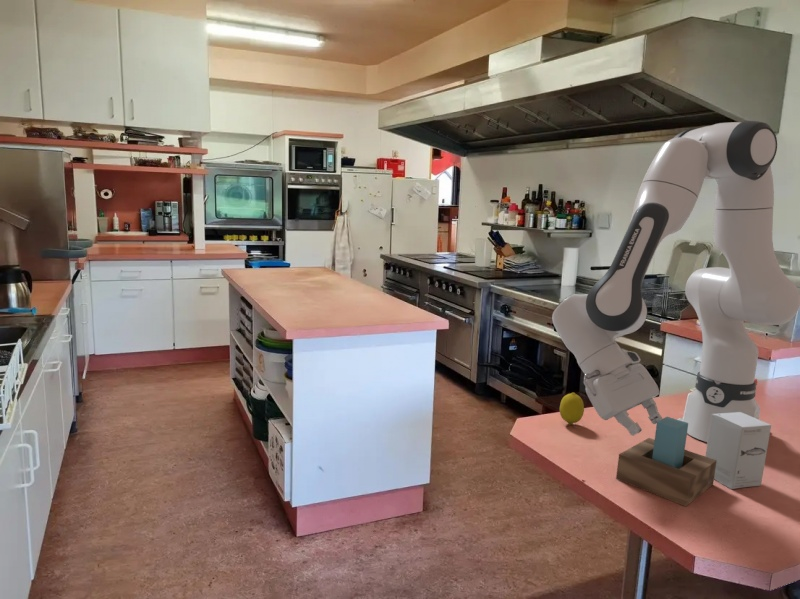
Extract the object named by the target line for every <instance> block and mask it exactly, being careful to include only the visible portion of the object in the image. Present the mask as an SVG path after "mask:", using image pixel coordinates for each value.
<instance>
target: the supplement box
mask: <svg viewBox="0 0 800 599" xmlns="http://www.w3.org/2000/svg"><path fill="white" fill-rule="evenodd" d="M771 429H772V424H771V423H768V422H766V421H763V420H762V419H761V420H760V418H759V419H756V418H754V417H751V416H749V415H747V414H744V413H742V412H733V413H719V414H712V417H711V423H710V430H709V436H708V442H706V449H705V450H706V451H705V455H704V456H705V457H708V458H711V459H714V460H717V462H716V468H715V475H714V481H717V483H719V484H722V485H723V486H725V487H727V488H729V490H735V489H741V488H749V487H760V486H762V481H763V476H764V470H765V464H766V459H767V453H768V446H769V443H770V442H769V440H770V435H771Z"/></svg>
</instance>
